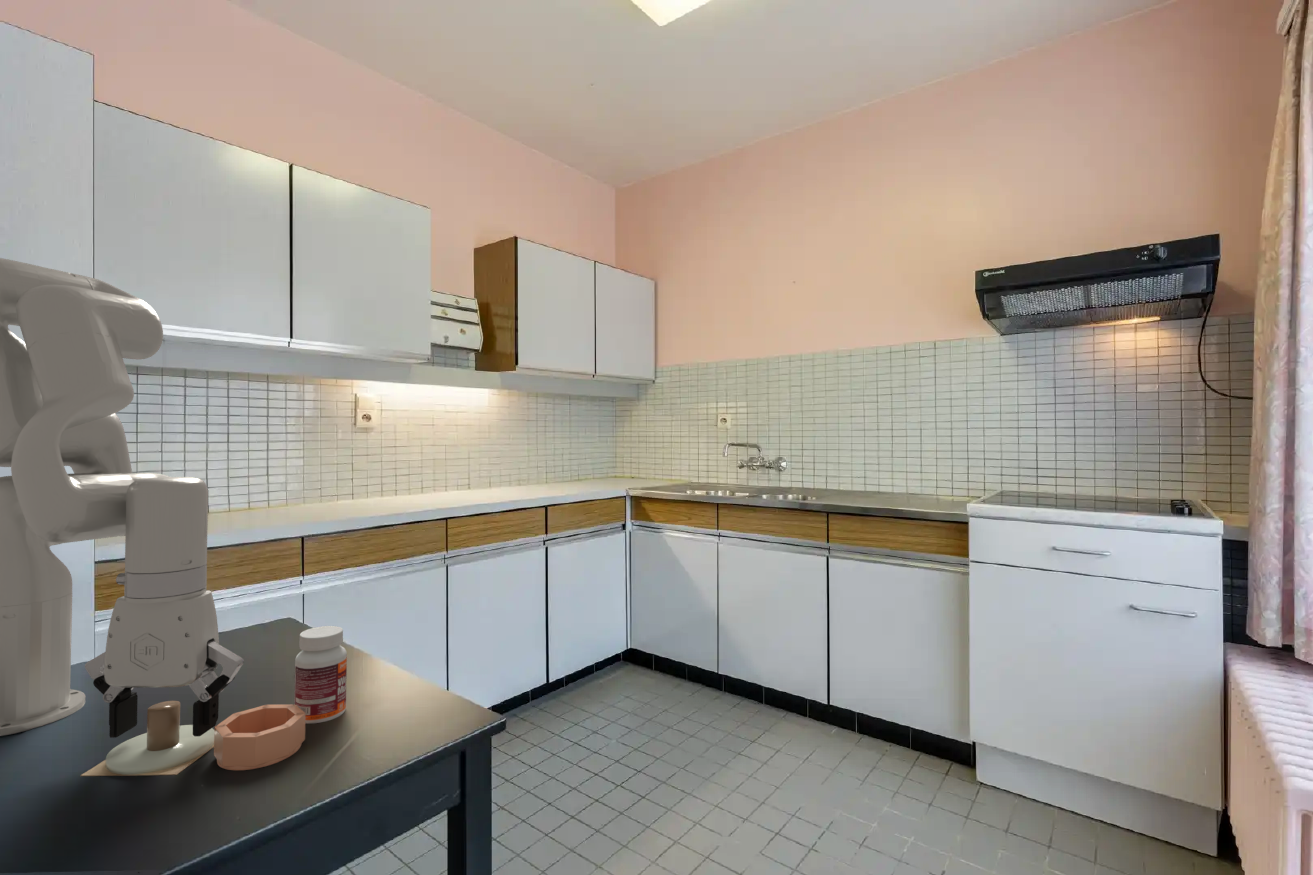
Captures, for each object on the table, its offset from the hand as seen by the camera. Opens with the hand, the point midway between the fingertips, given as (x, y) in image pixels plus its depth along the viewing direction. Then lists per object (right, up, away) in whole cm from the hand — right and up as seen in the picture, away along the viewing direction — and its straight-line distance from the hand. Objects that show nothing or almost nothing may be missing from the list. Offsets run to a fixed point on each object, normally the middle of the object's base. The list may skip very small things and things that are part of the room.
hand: (164, 731), depth 72 cm
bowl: (+11, -3, +1) cm, 11 cm away
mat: (0, -3, 0) cm, 3 cm away
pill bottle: (+12, -3, +11) cm, 17 cm away
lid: (0, -2, 0) cm, 2 cm away
